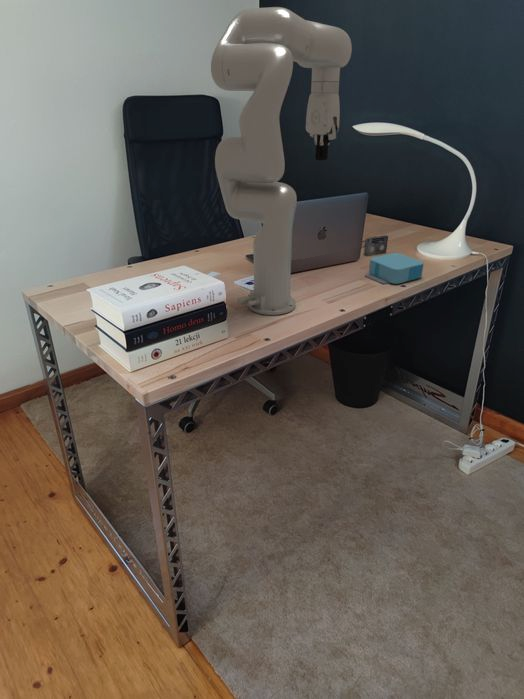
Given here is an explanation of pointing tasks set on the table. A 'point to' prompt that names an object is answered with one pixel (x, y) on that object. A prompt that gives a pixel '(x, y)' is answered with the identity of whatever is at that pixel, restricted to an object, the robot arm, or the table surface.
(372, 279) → the mat
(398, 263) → the data package
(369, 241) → the mini dv tape
